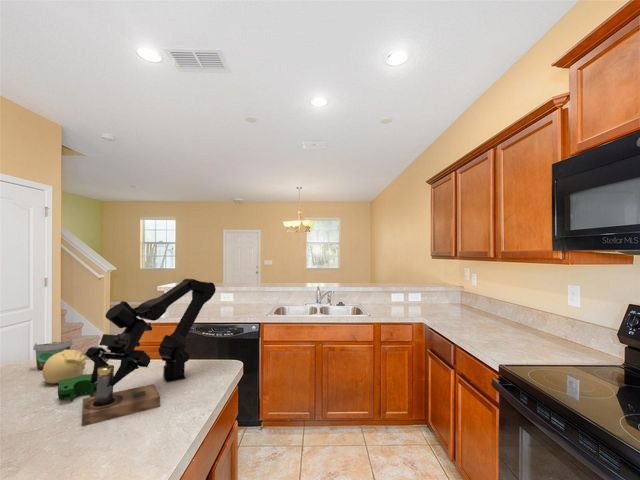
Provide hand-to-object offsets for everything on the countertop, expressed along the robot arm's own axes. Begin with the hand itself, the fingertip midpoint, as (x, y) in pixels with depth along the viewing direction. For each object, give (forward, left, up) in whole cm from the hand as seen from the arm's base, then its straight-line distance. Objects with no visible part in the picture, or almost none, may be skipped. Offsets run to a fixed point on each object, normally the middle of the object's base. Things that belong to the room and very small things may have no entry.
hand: (101, 384), depth 90 cm
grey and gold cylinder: (-1, -1, -9) cm, 9 cm away
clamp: (+5, -17, -9) cm, 20 cm away
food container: (+15, -52, -9) cm, 55 cm away
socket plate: (-5, -1, -9) cm, 10 cm away
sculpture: (+10, -35, -9) cm, 38 cm away
